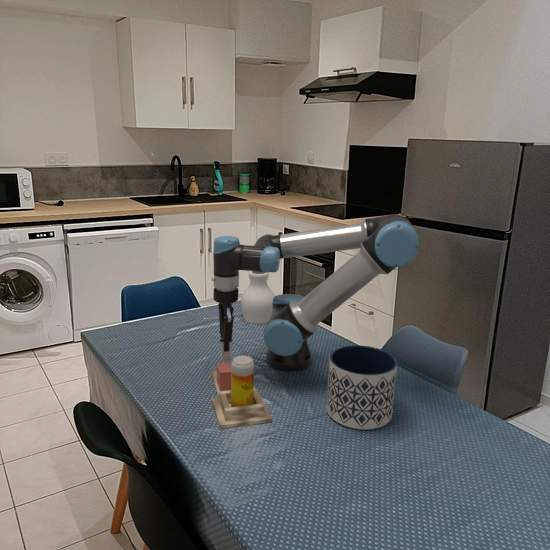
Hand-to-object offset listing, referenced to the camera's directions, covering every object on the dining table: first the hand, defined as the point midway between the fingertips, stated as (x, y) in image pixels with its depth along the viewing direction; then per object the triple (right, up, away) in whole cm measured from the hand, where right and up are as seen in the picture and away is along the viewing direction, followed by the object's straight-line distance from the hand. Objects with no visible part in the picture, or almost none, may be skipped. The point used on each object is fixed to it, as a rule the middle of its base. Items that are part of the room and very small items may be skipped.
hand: (225, 359), depth 163 cm
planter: (+39, -12, -18) cm, 45 cm away
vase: (+9, +8, +48) cm, 49 cm away
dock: (+4, -9, -11) cm, 15 cm away
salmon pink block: (+2, -7, -7) cm, 10 cm away
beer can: (+6, -11, -19) cm, 23 cm away
